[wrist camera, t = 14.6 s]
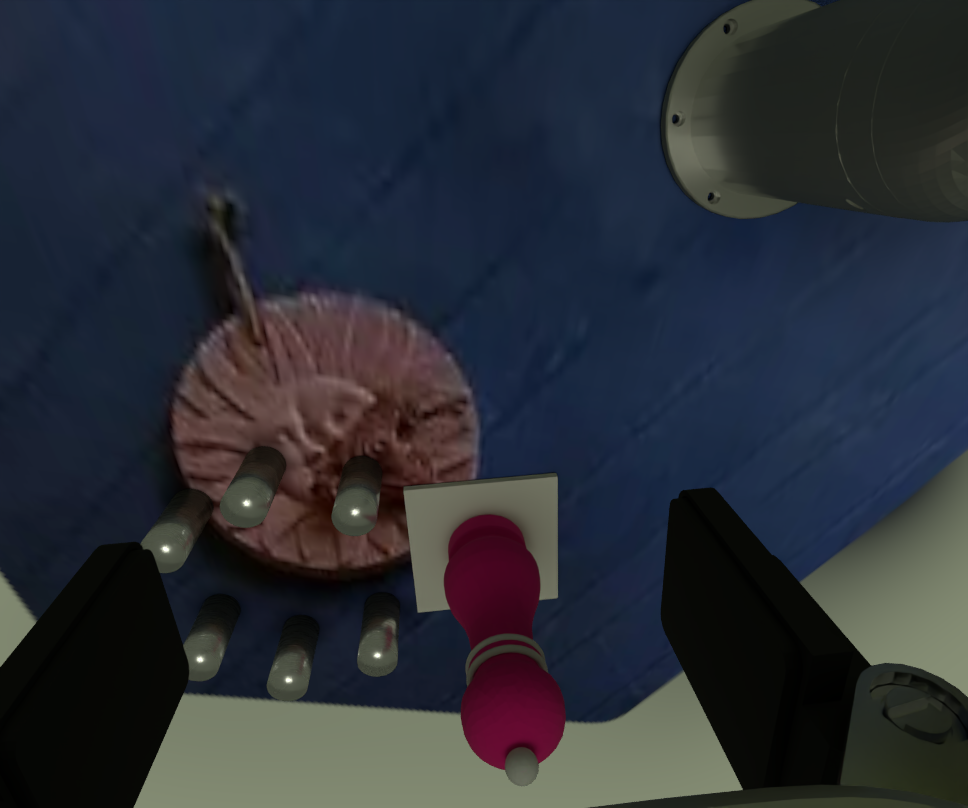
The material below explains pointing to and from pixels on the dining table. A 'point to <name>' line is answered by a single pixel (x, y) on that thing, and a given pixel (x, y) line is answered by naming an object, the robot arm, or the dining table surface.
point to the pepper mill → (502, 648)
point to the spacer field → (300, 633)
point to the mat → (454, 503)
